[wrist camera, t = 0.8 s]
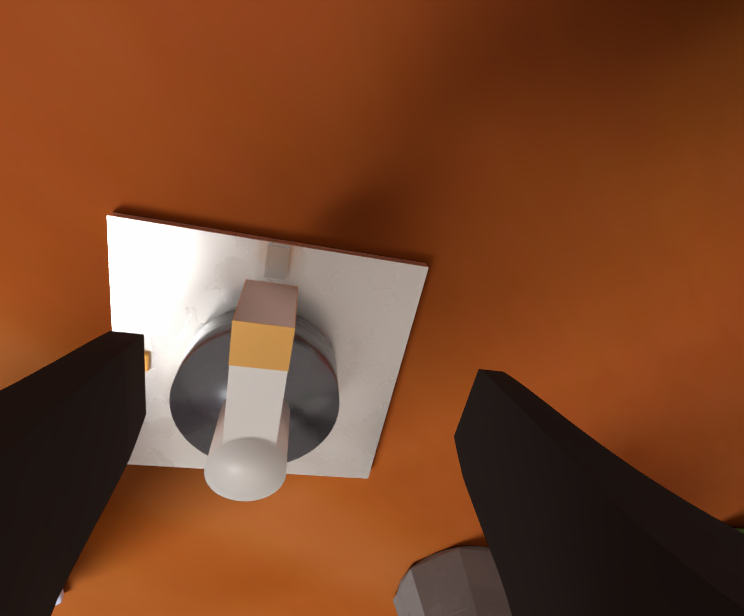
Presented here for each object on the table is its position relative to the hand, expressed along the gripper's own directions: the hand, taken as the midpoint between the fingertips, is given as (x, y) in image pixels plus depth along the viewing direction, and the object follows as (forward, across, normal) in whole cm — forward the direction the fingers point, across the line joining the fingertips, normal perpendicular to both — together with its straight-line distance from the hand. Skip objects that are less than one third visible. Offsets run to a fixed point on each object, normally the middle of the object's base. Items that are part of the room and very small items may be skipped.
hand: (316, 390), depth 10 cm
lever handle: (+7, +1, +5) cm, 8 cm away
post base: (+10, +2, +7) cm, 13 cm away
